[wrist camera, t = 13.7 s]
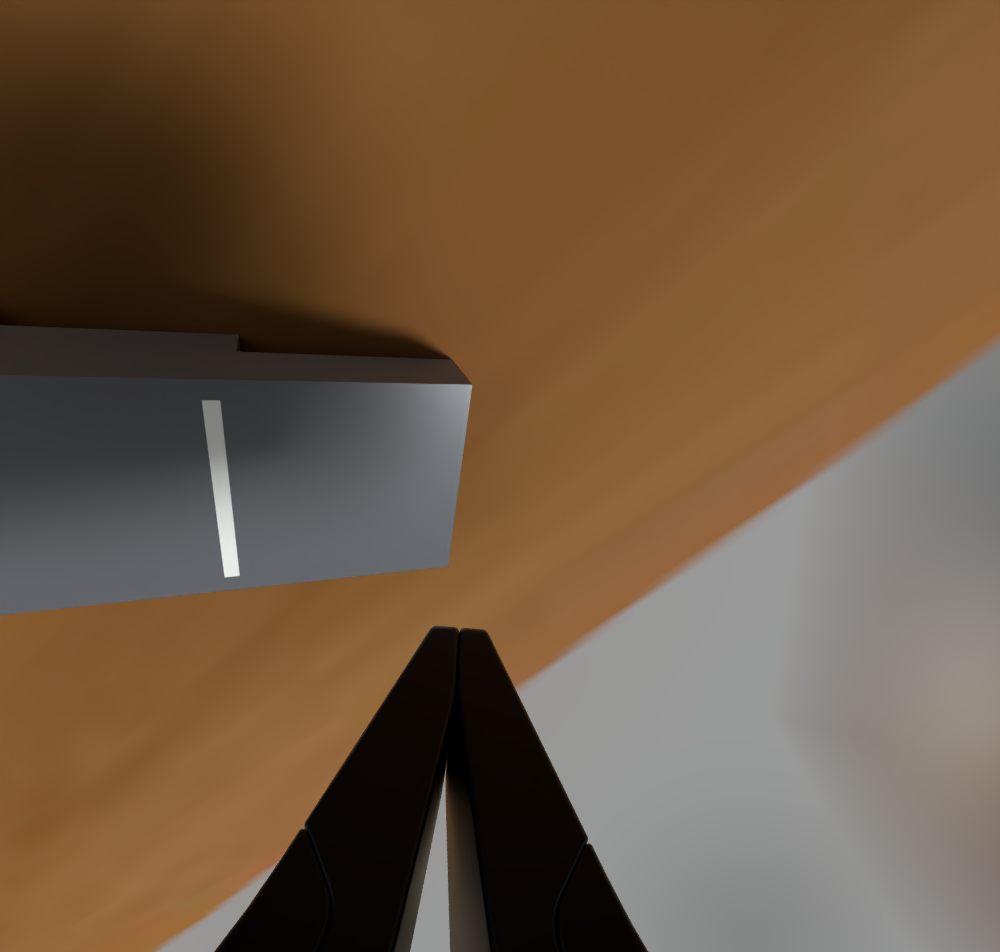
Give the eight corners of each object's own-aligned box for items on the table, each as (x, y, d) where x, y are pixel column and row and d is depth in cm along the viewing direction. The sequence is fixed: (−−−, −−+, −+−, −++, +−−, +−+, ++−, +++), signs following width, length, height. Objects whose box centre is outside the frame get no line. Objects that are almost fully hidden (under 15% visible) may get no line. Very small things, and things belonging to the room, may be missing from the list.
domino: (472, 385, 11) (-179, 372, 8) (448, 567, 14) (-58, 621, 10) (452, 359, 13) (-115, 337, 9) (433, 529, 15) (-20, 566, 12)
